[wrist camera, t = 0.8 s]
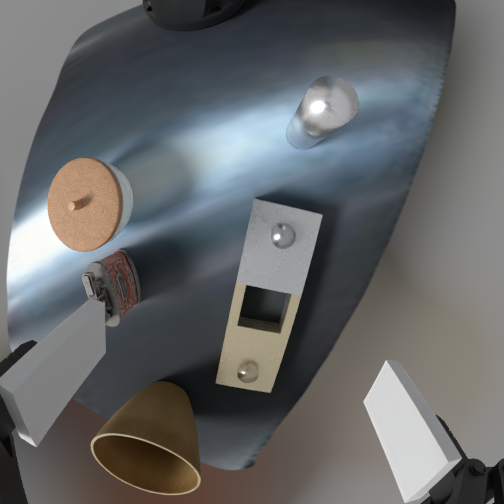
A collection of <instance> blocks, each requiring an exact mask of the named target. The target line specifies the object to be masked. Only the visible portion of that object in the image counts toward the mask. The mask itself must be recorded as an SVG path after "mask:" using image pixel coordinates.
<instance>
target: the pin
mask: <svg viewBox="0 0 504 504" xmlns="http://www.w3.org/2000/svg"><path fill="white" fill-rule="evenodd" d="M358 108H359V100H358V96H357V94H356V92H355V90H354V89H353V88H352V86H351V85H350V84H349V83H347V82H346V81H344V80H343V79H340V78H338V77H333V76H325V77H321V78H319V79H317V80H315V81H314V82H313V83H312V84H311V86H310V87H309V89H308V91H307V93H306V94H305V96H304V98H303V100H302V102H301V103H300V105H299V107H298V109H297V110H296V112H295V114H294V116H293V118H292V119H291V121H290V123H289V125H288V127H287V129H286V138H287V141H288V142H289V144H290V145H291V146H293V147H294V148H296V149H300V150H305V149H309V148H311V147H312V146H314V145H315V144H317V143H318V142H319V141H321V140H322V139H324V138H325V137H327V136H328V135H330V134H331V133H333V132H334V131H336V130H337V129H339V128H340V127H341V126H343V125H344V124H346V123H347V122H349V121H350V120H352V119H353V118H354V117H355V115H356V114H357V112H358Z"/></svg>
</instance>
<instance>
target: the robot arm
mask: <svg viewBox="0 0 504 504" xmlns="http://www.w3.org/2000/svg"><path fill="white" fill-rule="evenodd" d="M244 2H245V0H143V7H144V10H145V12H146V13H147V15H148V16H149V18H150V19H151V20H152V21H153V22H154V23H155V24H156V25H158V26H160V27H162V28H165V29H168V30H173V31H192V30H198V29H203V28H207V27H210V26H213V25H215V24H218V23H220V22H222V21H224V20H226V19H227V18H229V17H230V16H232V15H233V14H234V13H236V12H237V11H238V10H239V9H240V8H241V6H242V5H243V3H244ZM105 353H106V344H105V303H103V302H100V301H97V300H94V299H90V300H88V301H87V302H86V303H85V304H83V305H82V306H81V307H80V308H78V309H77V310H76V311H75V312H74V313H72V314H71V315H70V316H69V317H68V318H66V319H65V320H64V321H63V322H62V323H60V324H59V325H58V326H57V327H56V328H55V329H53V330H52V331H51V332H50V333H49V334H48V335H46V336H45V337H44V338H43V339H42V340H41V341H40V342H38V343H37V342H35V341H33V340H31V341H29V342H26V343H24V344H21V345H20V346H19V347H18V348H17V349H15V350H14V352H13V353H11V354H10V355H9V356H8V357H7V358H5V359H4V360H3V361H2V362H1V363H0V504H28V502H27V498H26V495H25V491H24V488H23V484H22V480H21V476H20V471H19V467H18V462H17V457H16V451H15V446H14V439H13V436H12V433H11V432H12V431H13V430H14V428H16V429H17V432H18V433H19V435H20V437H21V438H23V439H24V440H26V441H27V442H29V443H30V444H32V445H34V446H35V447H37V446H38V444H39V443H40V441H41V440H42V438H43V437H44V435H45V434H46V433H47V431H48V430H49V428H50V427H51V425H52V424H53V423H54V421H55V420H56V418H57V417H58V415H59V414H60V413H61V411H62V410H63V408H64V407H65V405H66V404H67V403H68V402H69V400H70V399H71V398H72V396H73V395H74V393H75V392H76V391H77V389H78V388H79V387H80V385H81V384H82V383H83V381H84V380H85V379H86V377H87V376H88V375H89V373H90V372H91V371H92V370H93V368H94V367H95V366H96V364H97V363H98V362H99V361H100V359H101V358H102V357H103V355H104V354H105ZM364 404H365V407H366V409H367V411H368V414H369V416H370V418H371V421H372V423H373V425H374V427H375V430H376V432H377V435H378V437H379V440H380V442H381V444H382V447H383V449H384V452H385V454H386V457H387V459H388V461H389V464H390V467H391V469H392V471H393V474H394V476H395V479H396V482H397V484H398V487H399V490H400V492H401V495H402V497H403V500H404V502H405V503H407V502H411V501H414V500H418V499H420V498H421V497H422V496H423V495H424V494H426V493H427V492H428V491H429V494H430V496H429V497H428V498H427V499H426V500H425V501H423V502H422V503H421V504H486V503H487V502H488V501H490V500H491V499H492V498H493V497H494V501H495V502H494V503H493V504H504V459H501V460H500V461H499V462H498V463H497V464H496V465H495V466H494V467H486V466H485V465H484V464H483V463H482V462H481V461H480V460H478V459H468V458H467V456H466V455H465V453H464V452H463V450H462V449H461V447H460V445H459V444H458V442H457V440H456V439H455V437H453V434H452V433H451V431H449V428H448V426H447V425H446V423H445V422H444V421H443V420H442V419H441V418H440V417H439V416H437V415H435V414H434V412H433V411H432V409H431V408H430V406H429V405H428V403H427V402H426V401H425V399H424V397H423V396H422V394H421V393H420V391H419V390H418V388H417V387H416V386H415V384H414V383H413V381H412V380H411V378H410V377H409V375H408V374H407V372H406V371H405V370H404V368H403V367H402V365H401V364H400V363H399V362H398V361H393V360H386V361H385V363H384V365H383V367H382V369H381V371H380V373H379V375H378V377H377V378H376V380H375V382H374V384H373V386H372V388H371V389H370V391H369V393H368V395H367V397H366V398H365V400H364Z"/></svg>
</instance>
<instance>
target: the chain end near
mask: <svg viewBox="0 0 504 504" xmlns="http://www.w3.org/2000/svg"><path fill="white" fill-rule="evenodd" d="M321 219H322V214H319V213H316V212H312V211H308V210H304V209H300V208H296V207H291V206H287V205H283V204H278V203H274V202H270V201H265V200H260V199H256V198H254V202H253V206H252V211H251V216H250V220H249V225H248V229H247V234H246V239H245V243H244V248H243V253H242V257H241V262H240V267H239V271H238V276H237V282H236V283H240V284H245V285H250V286H254V287H259V288H264V289H269V290H274V291H279V292H284V293H287V295H286V299H285V303H284V306H283V310H282V313H281V317H280V320H279V328H280V325H281V322H282V318H283V315H284V311H285V308H286V304H287V300H288V297H289V293H290V294H295V295H300V296H301V295H302V292H303V288H304V285H305V281H306V277H307V274H308V270H309V266H310V263H311V259H312V255H313V251H314V247H315V243H316V240H317V236H318V232H319V228H320V223H321ZM234 291H235V290H234ZM233 296H234V295H233ZM230 310H231V309H230ZM229 315H230V314H229Z"/></svg>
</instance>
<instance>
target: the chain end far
mask: <svg viewBox="0 0 504 504" xmlns="http://www.w3.org/2000/svg"><path fill="white" fill-rule="evenodd" d="M236 282H237V281H236ZM245 288H246V285H245V284H240V283H236V286H235V291H234V296H233V300H232V305H231V310H230V315H229V319H228V324H227V329H226V333H225V338H224V343H223V348H222V353H221V358H220V363H219V368H218V373H217V378H216V383H217V384H222V385H227V386H232V387H238V388H243V389H249V390H256V391H262V392H269V393H271V390H272V387H273V384H274V382H275V379H276V376H277V373H278V370H279V367H280V364H281V361H282V357H283V354H284V351H285V348H286V345H287V342H288V339H289V335H290V332H291V329H292V326H293V322H294V319H295V316H296V312H297V309H298V306H299V302H300V299H301V296H300V295H295V294H290V293H289V297H288V300H287V304H286V308H285V311H284V315H283V318H282V322H281V325H280V328H279V323H273V322H268V321H263V320H257V319H252V318H247V317H242V316H239V315H240V311H241V306H242V302H243V297H244V293H245Z"/></svg>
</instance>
